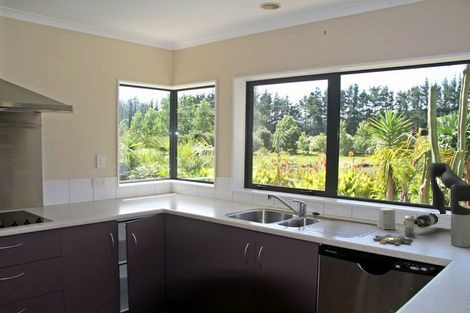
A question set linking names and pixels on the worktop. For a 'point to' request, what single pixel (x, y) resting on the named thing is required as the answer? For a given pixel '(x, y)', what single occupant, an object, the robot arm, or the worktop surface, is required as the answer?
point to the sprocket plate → (393, 240)
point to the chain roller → (409, 226)
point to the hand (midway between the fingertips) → (411, 224)
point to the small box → (387, 218)
